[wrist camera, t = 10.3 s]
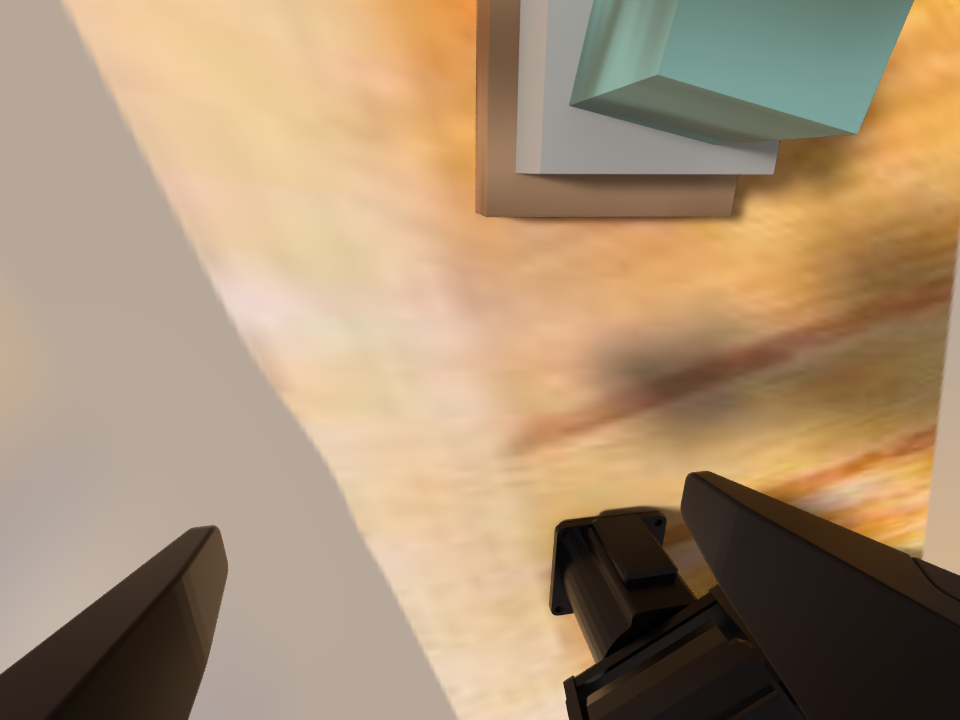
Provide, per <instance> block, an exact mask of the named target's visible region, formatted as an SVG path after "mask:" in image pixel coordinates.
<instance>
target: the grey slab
mask: <svg viewBox="0 0 960 720" xmlns="http://www.w3.org/2000/svg"><path fill="white" fill-rule="evenodd" d="M592 5H593V0H521V1H520V36H519V71H518V106H517V140H516V173H527V174H774V169H775V164H776V160H777V155H778V150H779V146H780V141H781V140H773V141H759V142H746V143H733V144H719V145H714V144H710V143H706V142H702V141H699V140H695V139H691V138H687V137H684V136H680V135H676V134H672V133H669V132H665V131H661V130H658V129H654V128H650V127H646V126H643V125H639V124H635V123H631V122H628V121H624V120H620V119H616V118H613V117H609V116H605V115H601V114H598V113H594V112H590V111H587V110H583V109H579V108H575V107H572V106H569V103H570V98H571V94H572V90H573V86H574V81H575V77H576V73H577V69H578V64H579V60H580V56H581V51H582V47H583V43H584V39H585V34H586V30H587V26H588V22H589V17H590V13H591V9H592Z"/></svg>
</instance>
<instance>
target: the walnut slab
mask: <svg viewBox="0 0 960 720" xmlns="http://www.w3.org/2000/svg"><path fill="white" fill-rule="evenodd" d="M520 1H521V0H477V30H476V171H475V212H476V213H478V214H481V215H483V216H485V217H644V216H730V215H731V210H732V205H733V200H734V195H735V189H736V184H737V179H738V174H527V173H516V140H517V106H518V71H519V36H520Z"/></svg>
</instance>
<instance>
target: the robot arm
mask: <svg viewBox="0 0 960 720" xmlns="http://www.w3.org/2000/svg"><path fill="white" fill-rule="evenodd" d="M681 514H682V517H683V519H684V521H685V523H686V525H687V526H688V528H689V530H690V532H691V534H692V536H693V538H694V539H695V541H696V543H697V545H698V547H699V549H700V551H701V553H702V554H703V556H704V558H705V560H706V562H707V564H708V566H709V568H710V569H711V571H712V573H713V575H714V577H715V578H716V580H717V582H718V584H719V585H720V586H719V585H718V584H717V585H716V586H714V587H712V588H711V589H709V590H708V591H709V593H707V594H705V595H704V596H702V597H701V598H699V599H697V598H696V596H695V595H694V594H693V592H692V591H691V590H690V588H689V587H688V585H687V584H686V583H685V581H684V580H683V579H682V577H681V576H680V574H679V573H678V568H677V567H676V565H675V564H674V563H673V561H672V560H671V558H670V557H669V556H668V554H667V553H666V552H665V550H664V549H663V548H662V544H663V538H664V533H665V527H666V518H665V516H664V515H663V514H662V513H661V512H660V511H652V512H644V513H635V514H627V515H619V516H611V517H603V518H595V519H586V520H578V521H570V522H563V523H560V524H559V525H557V527H556V528H555V535H554V547H553V560H552V573H551V586H550V599H549V607H550V610H551V612H552V614H553V615H565V614H571V613H574V614H575V617H576V619H577V621H578V624H579V626H580V628H581V631H582V633H583V635H584V638H585V640H586V642H587V645H588V647H589V649H590V652H591V654H592V656H593V659H594V661H595V663H596V664H595V665H593V666H591V667H590V668H588V669H587V670H585V671H583V672H582V673H580V674H579V675H577V676H576V677H574V676H571V677H570V678H568V679H567V680H565V681H564V682H563V684H564V689H565V694H566V699H567V700H566V706H567V711H568V716H569V720H960V576H959V575H957V574H954V573H952V572H950V571H947V570H945V569H942V568H940V567H937V566H935V565H933V564H930V563H928V562H925V561H923V560H921V559H918V558H916V557H912V558H911V557H910V556H909V555H908V554H906V553H904V552H901V551H899V550H896V549H894V548H892V547H889V546H887V545H884V544H882V543H880V542H877V541H875V540H873V539H870V538H868V537H865V536H863V535H861V534H858V533H856V532H853V531H851V530H849V529H846V528H844V527H841V526H839V525H837V524H834V523H832V522H829V521H827V520H825V519H822V518H820V517H817V516H815V515H813V514H810V513H808V512H806V511H803V510H801V509H798V508H796V507H794V506H791V505H789V504H786V503H784V502H782V501H779V500H777V499H774V498H772V497H770V496H767V495H765V494H762V493H760V492H758V491H755V490H753V489H750V488H748V487H746V486H743V485H741V484H739V483H736V482H734V481H731V480H729V479H727V478H724V477H722V476H719V475H717V474H715V473H712V472H709V471H700V472H692V473H690V474H688V475H687V477H686V480H685V485H684V490H683V495H682V500H681ZM656 520H657V521H656ZM564 531H566V532H565V533H563V532H564ZM227 574H228V561H227V557H226V553H225V548H224V544H223V540H222V536H221V532H220V530H219V528H218V527H217V526H215V525H212V526H202V527H195V528H191V529H189V530H188V531H186V532H185V533H184V534H182V535H181V536H180V537H178V538H177V539H176V540H175V541H173V542H172V543H171V544H169V545H168V546H167V547H165V548H164V549H163V550H162V551H160V552H159V553H158V554H156V555H155V556H154V557H152V558H151V559H150V560H149V561H148V562H146V563H145V564H143V565H142V566H141V567H139V568H138V569H137V570H136V571H134V572H133V573H132V574H130V575H129V576H128V577H126V578H125V579H124V580H123V581H121V582H120V583H119V584H117V585H116V586H115V587H114V588H112V589H111V590H109V591H108V592H107V593H106V594H104V595H103V596H102V597H101V598H99V599H98V600H96V601H95V602H94V603H93V604H91V605H90V606H89V607H87V608H86V609H85V610H84V611H82V612H81V613H80V614H78V615H77V616H76V617H74V618H73V619H72V620H70V621H69V622H68V623H67V624H65V625H64V626H63V627H61V628H60V629H59V630H57V631H56V632H55V633H54V634H52V635H51V636H50V637H48V638H47V639H46V640H45V641H43V642H42V643H41V644H40V645H38V646H37V647H35V648H34V649H33V650H31V651H30V652H29V653H27V654H26V655H25V656H24V657H22V658H21V659H20V660H18V661H17V662H16V663H14V664H13V665H12V666H11V667H9V668H8V669H7V670H5V671H4V672H3V673H1V674H0V720H188V718H189V715H190V713H191V710H192V707H193V704H194V701H195V698H196V695H197V692H198V689H199V686H200V683H201V681H202V678H203V674H204V671H205V668H206V665H207V661H208V657H209V653H210V649H211V645H212V641H213V635H214V632H215V627H216V623H217V618H218V614H219V609H220V605H221V601H222V596H223V592H224V588H225V583H226V579H227Z"/></svg>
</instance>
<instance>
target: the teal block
mask: <svg viewBox="0 0 960 720" xmlns="http://www.w3.org/2000/svg"><path fill="white" fill-rule="evenodd" d="M913 2H914V0H593V5H592V9H591V13H590V17H589V22H588V26H587V30H586V34H585V39H584V43H583V47H582V51H581V56H580V60H579V64H578V69H577V73H576V77H575V81H574V86H573V90H572V94H571V98H570V103H569V106H572V107H575V108H579V109H583V110H587V111H590V112H594V113H598V114H601V115H605V116H609V117H613V118H616V119H620V120H624V121H628V122H631V123H635V124H639V125H643V126H646V127H650V128H654V129H658V130H661V131H665V132H669V133H672V134H676V135H680V136H684V137H687V138H691V139H695V140H699V141H702V142H706V143H710V144H714V145H719V144H733V143H746V142H759V141H773V140H786V139H799V138H813V137H826V136H839V135H853V134H858V131H859V129H860V127H861V124H862V122H863V120H864V117H865V115H866V113H867V110H868V108H869V106H870V103H871V101H872V98H873V96H874V94H875V91H876V89H877V87H878V84H879V82H880V80H881V77H882V75H883V72H884V70H885V68H886V65H887V63H888V61H889V58H890V56H891V54H892V51H893V49H894V47H895V44H896V42H897V39H898V37H899V35H900V32H901V30H902V28H903V25H904V23H905V21H906V18H907V16H908V14H909V11H910V9H911V6H912V4H913Z"/></svg>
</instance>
